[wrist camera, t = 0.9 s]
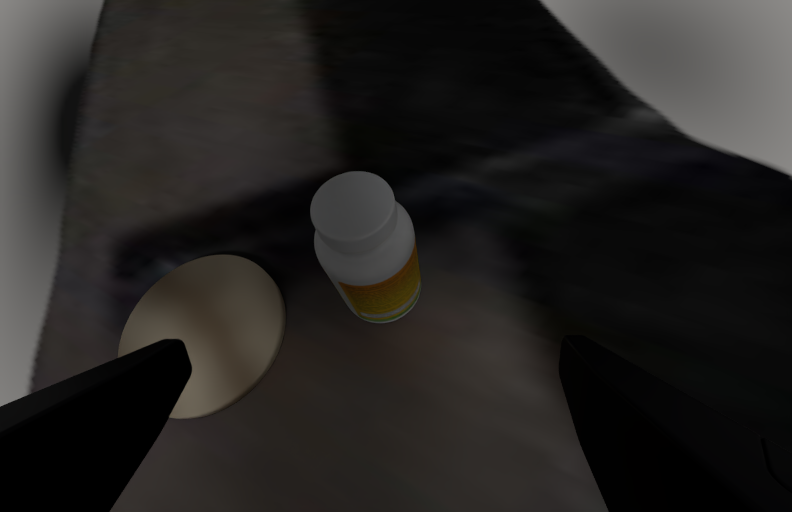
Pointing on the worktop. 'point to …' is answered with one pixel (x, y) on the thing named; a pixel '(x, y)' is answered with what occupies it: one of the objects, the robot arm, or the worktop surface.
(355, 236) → the supplement bottle
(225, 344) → the oak coaster
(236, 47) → the worktop surface
